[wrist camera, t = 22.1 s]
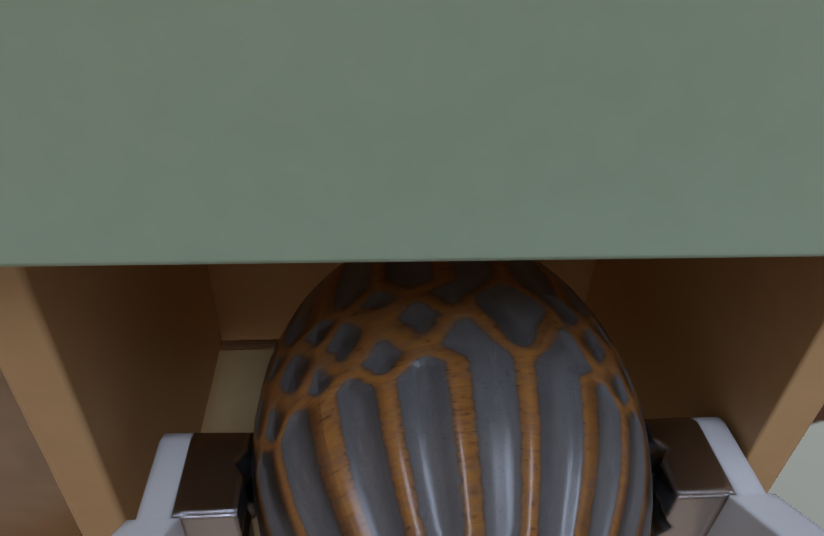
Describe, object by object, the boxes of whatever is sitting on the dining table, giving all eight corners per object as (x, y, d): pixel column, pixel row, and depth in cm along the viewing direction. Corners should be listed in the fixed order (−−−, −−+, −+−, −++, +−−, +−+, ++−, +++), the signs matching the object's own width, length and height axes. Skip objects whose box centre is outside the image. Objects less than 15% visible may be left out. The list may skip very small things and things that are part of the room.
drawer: (566, 469, 25) (649, 735, 18) (214, 483, 24) (158, 773, 17) (734, -85, 14) (1145, 57, 7) (71, -107, 13) (-294, 35, 5)
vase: (410, 445, 18) (445, 882, 11) (209, 306, 14) (64, 817, 7) (633, 314, 15) (868, 768, 8) (455, 108, 12) (599, 588, 5)
